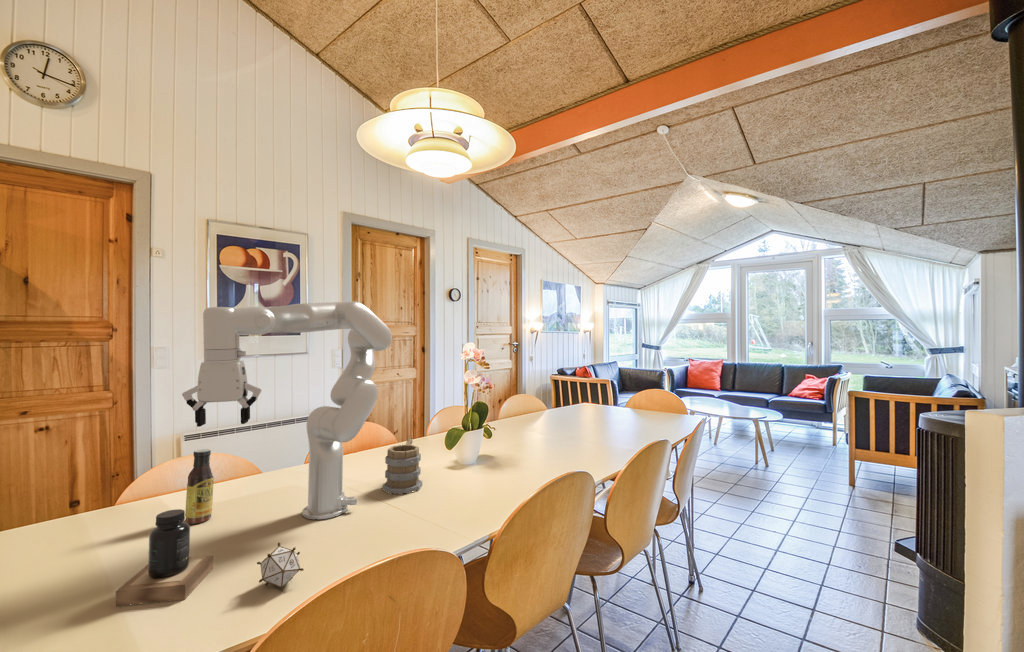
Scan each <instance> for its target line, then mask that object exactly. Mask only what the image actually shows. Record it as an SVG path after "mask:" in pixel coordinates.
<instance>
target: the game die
mask: <svg viewBox="0 0 1024 652" xmlns="http://www.w3.org/2000/svg"><path fill="white" fill-rule="evenodd" d="M300 553H301V551H298V552H296V546H295V547H292V549H290V548H288V547H285V546H281V543H280V542H278V543H277V547H276V548H275V549H274V550H273V551H272V552H271V553H267V555H266V557H265V558H264V559H263V560H262V561H257V562H256V564H257V565H260V572H261V578H260V579H259V581H258V583H261V582H265V584H264V586H266V587H267V586H268V585H272V586H276V587H278V588H280V592H281V593H283V591H284V586H285V585H286V584H287V583H288V582H289V581H290V580H291V579H293V577H294V576H295V575H297V573H299V572H303V571H304V570H305V569H304V568H301V567H300V566H301V565H300V561H299V557H298V556H299V555H300Z"/></svg>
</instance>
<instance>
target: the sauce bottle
mask: <svg viewBox="0 0 1024 652" xmlns="http://www.w3.org/2000/svg"><path fill="white" fill-rule="evenodd" d="M211 452H212V451H211V449H210V448H209V449H208V448H206V449H205V448H204V449H203V448H202V449H197V450H194V451H193V464H192V465H193V468H192V469H191V471H190V472H189V473H188V475H187V485H186V496H185V497H186V498H185V510H184V511H185V520H184V522H186V523H188V524H189V525H196V524H200V523H204V522H207V521H209V520H210V519H211V518H212V513H213V512H212V511H213V495H214V479H215V478H214V476H213V472H212V469H211V465H210V459H211V457H210V456H211V454H212V453H211Z"/></svg>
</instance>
